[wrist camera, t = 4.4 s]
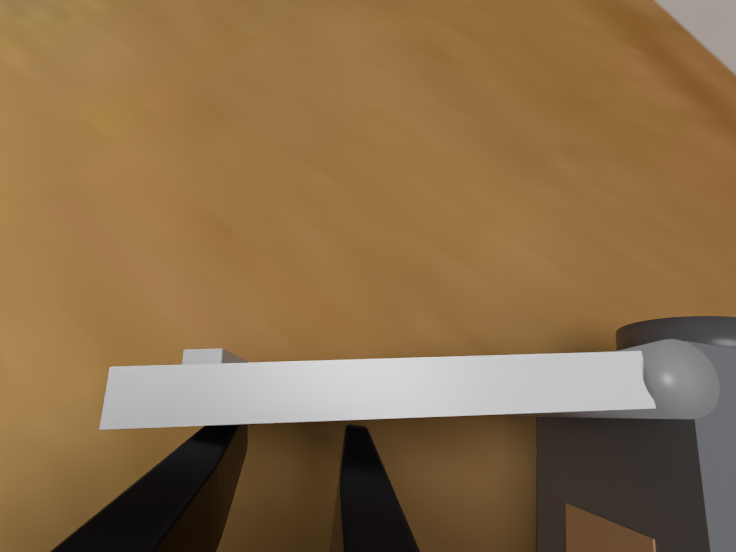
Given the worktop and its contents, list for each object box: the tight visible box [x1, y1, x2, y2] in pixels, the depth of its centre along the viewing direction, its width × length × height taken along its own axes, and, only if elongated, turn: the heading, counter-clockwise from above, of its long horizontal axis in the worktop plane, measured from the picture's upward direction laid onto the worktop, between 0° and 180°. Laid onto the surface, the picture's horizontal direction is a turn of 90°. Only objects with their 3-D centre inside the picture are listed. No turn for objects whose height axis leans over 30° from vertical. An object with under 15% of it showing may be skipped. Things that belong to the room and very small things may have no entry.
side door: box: [99, 339, 720, 430], centre depth 11 cm, size 11×2×8 cm, turn 92°
